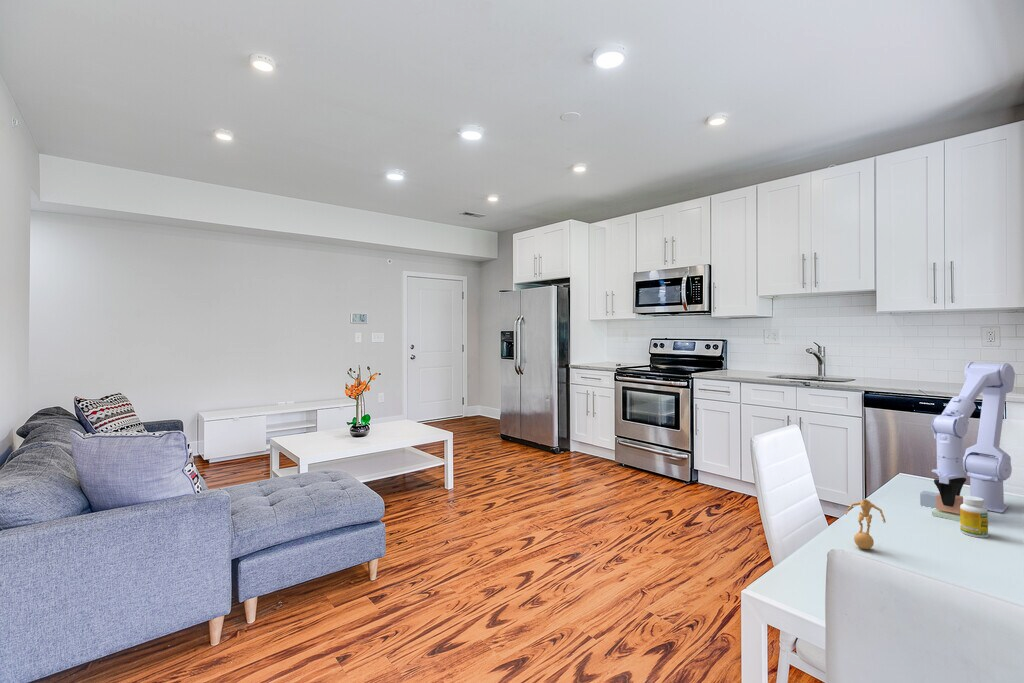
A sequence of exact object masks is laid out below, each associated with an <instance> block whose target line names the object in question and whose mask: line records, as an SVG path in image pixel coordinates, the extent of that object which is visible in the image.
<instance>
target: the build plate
mask: <svg viewBox="0 0 1024 683" xmlns="http://www.w3.org/2000/svg"><path fill="white" fill-rule="evenodd" d="M932 515H933V516H932ZM931 516H932V517H936V516H938V517H937V518H941V517H943V518H942V519H946V518H947V519H946V520H951V519H952V520H951V521H955V520H958V521H957V522H960V514H956V513H952V512H947V511H942V510H937V509H933V510H931Z"/></svg>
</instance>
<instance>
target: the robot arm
mask: <svg viewBox="0 0 1024 683" xmlns="http://www.w3.org/2000/svg"><path fill="white" fill-rule="evenodd" d="M963 373H964V374H963V375H964V379H965V380H964V383H963V386H962V388H961V390H960V391H959V394H958V396H954V397H952V398H950V401H949V402H948V403H947V405H946V407H945V408H944V409H943V411H942V412H941V414H938V415H936V416H934V417H933V419H932V421H931V424H930V428H931V431H932V433H933V438H934V440H936V443H935V444H936V468H932V469H931V472H932V473H935V474H936V475H937V476H938V478H934V479H933V483H934V485H935V486H936V488H937V490H938V493H940V496H941V499H942V503H943V505H945V506H951V507H953V505H954V502H955V496H956V495H957V496H961V492H962V489H963V486H964V484H965V483H966V482H967V478H966V477H965V473H966V476H967V477H969V483H970V485H969V486H970V487H969V488H970V489H969V490H970V492H969V493H970V496H974V497H979V498H982V499H984V505H983V507H985V508H986V509H987V511H990V512H995V513H1000V514H1004V512H1005V511H1006V510H1007V509H1008V507H1009V505H1008V504H1006V503H1005V501H1004V500H1005V499H1004V498H1005V497H1004V496H1005V495H1004V491H1005V490H1004V481H1007V480H1008V479H1009V478H1011V475H1012V471H1013V468H1012V464H1011V463H1012V458H1011V456H1010V455H1009V454H1008V453H1007V452H1005V451H1004V450H1003V449H1002V448H1000V444H1001V443H1000V442H1001V436H1002V428H1003V421H1004V414H1005V406H1006V399H1007V394H1008V393H1012V392H1013V389H1014V384H1015V378H1016V372H1015V370H1014V368H1013V366H1012V365H1011V364H1010V363H1009V362H1004V363H1001V362H1000V363H999V362H998V363H997V362H995V363H993V362H974V361H971V362H968V363H967V364H966V365H965V366H964V371H963ZM981 393H982V402H981V409H980V417H979V423H978V424H979V425H978V432H977V438H976V443H975V444H974V445H970V446H969V447H967V448H965V451H964V445H963V444H964V437H965V436H966V435H967V433H968V430H969V428H968V427H969V424H970V422H969V419H970V417H972V415H973V413H974V411H975V410H976V404H975V401H976V399H977V398H978V397H979V396H980V395H981Z"/></svg>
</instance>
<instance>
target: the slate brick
mask: <svg viewBox="0 0 1024 683" xmlns="http://www.w3.org/2000/svg"><path fill="white" fill-rule="evenodd" d="M939 493H940V492H933V491H928V490H922V491H921V492H920V493H919V498H920V499H919V500H920V501H919V505H921V506H920V507H923V506H925V507H924V508H928V507H931V508H930V509H933V508H936V496H937V495H938V494H939Z"/></svg>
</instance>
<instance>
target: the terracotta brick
mask: <svg viewBox="0 0 1024 683" xmlns="http://www.w3.org/2000/svg"><path fill="white" fill-rule="evenodd" d="M938 493H939V494H938V495H937V496H936V509H937V510H942V511H947V512H952V513H956V514H960V505H961V504H964V502H963V496H964V495H963V496H962V495H960V496H957V495H956V496H955V502H954V505H953V507H951V506H945V505H943V503H942V499H941V496H940V492H938Z"/></svg>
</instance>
